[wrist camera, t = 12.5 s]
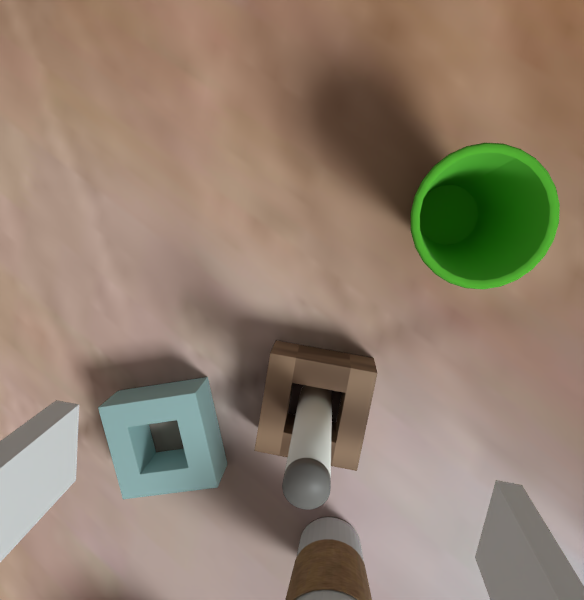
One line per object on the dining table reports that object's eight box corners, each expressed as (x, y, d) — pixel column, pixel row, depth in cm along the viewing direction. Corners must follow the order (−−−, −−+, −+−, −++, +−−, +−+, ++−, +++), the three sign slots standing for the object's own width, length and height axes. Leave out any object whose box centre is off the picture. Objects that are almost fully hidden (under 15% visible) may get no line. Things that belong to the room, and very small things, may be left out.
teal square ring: (117, 390, 47) (98, 407, 43) (207, 376, 46) (195, 393, 42) (140, 475, 48) (123, 499, 44) (227, 464, 47) (217, 487, 43)
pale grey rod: (302, 378, 45) (286, 461, 30) (334, 383, 45) (334, 470, 30) (297, 407, 45) (279, 504, 31) (329, 413, 45) (325, 513, 31)
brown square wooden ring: (275, 340, 44) (270, 353, 40) (373, 358, 44) (377, 373, 40) (261, 430, 46) (254, 450, 42) (354, 448, 46) (356, 470, 42)
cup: (373, 241, 42) (386, 254, 31) (422, 141, 40) (454, 117, 29) (468, 285, 42) (514, 312, 31) (521, 186, 40) (590, 179, 29)
